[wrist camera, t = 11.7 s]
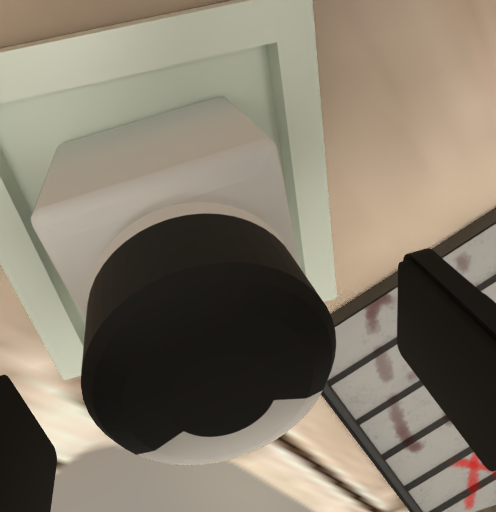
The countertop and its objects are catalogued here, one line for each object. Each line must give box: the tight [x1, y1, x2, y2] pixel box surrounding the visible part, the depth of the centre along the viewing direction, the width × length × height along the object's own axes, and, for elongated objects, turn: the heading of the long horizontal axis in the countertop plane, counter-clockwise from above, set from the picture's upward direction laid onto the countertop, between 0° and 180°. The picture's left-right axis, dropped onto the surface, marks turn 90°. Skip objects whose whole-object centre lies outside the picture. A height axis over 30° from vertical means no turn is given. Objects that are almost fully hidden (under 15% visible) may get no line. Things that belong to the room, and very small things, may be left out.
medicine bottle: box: [31, 97, 336, 465], centre depth 15 cm, size 7×7×12 cm
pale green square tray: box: [0, 0, 337, 381], centre depth 20 cm, size 14×14×2 cm
